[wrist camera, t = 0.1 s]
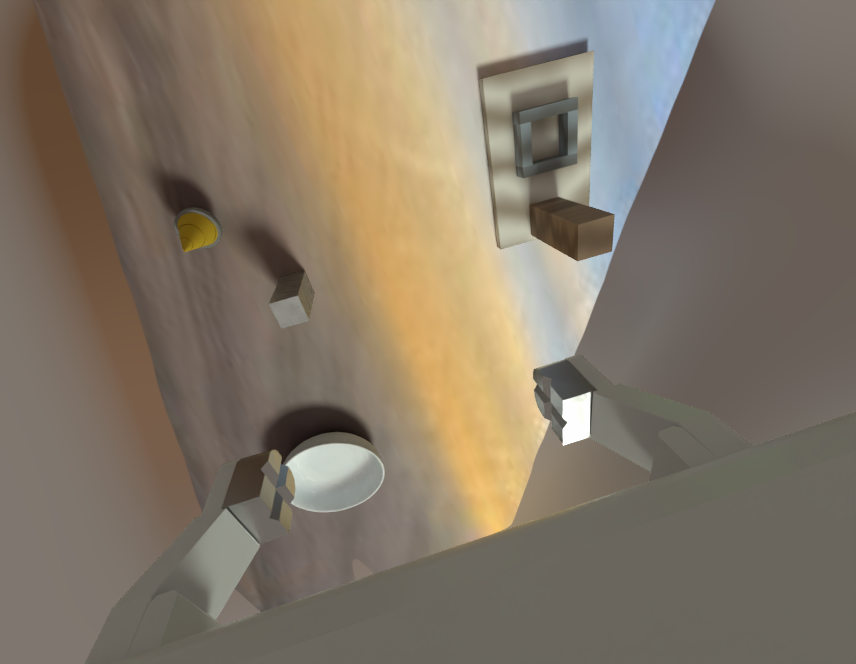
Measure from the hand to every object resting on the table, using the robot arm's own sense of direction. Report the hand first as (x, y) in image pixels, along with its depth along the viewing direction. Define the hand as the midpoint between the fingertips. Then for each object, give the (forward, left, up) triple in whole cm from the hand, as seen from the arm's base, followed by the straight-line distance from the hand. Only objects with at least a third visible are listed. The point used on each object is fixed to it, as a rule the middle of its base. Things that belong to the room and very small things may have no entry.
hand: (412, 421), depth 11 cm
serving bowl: (+50, -22, -49) cm, 73 cm away
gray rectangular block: (+11, -14, -48) cm, 52 cm away
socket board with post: (+2, +28, -48) cm, 56 cm away
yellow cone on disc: (-2, -22, -48) cm, 53 cm away
